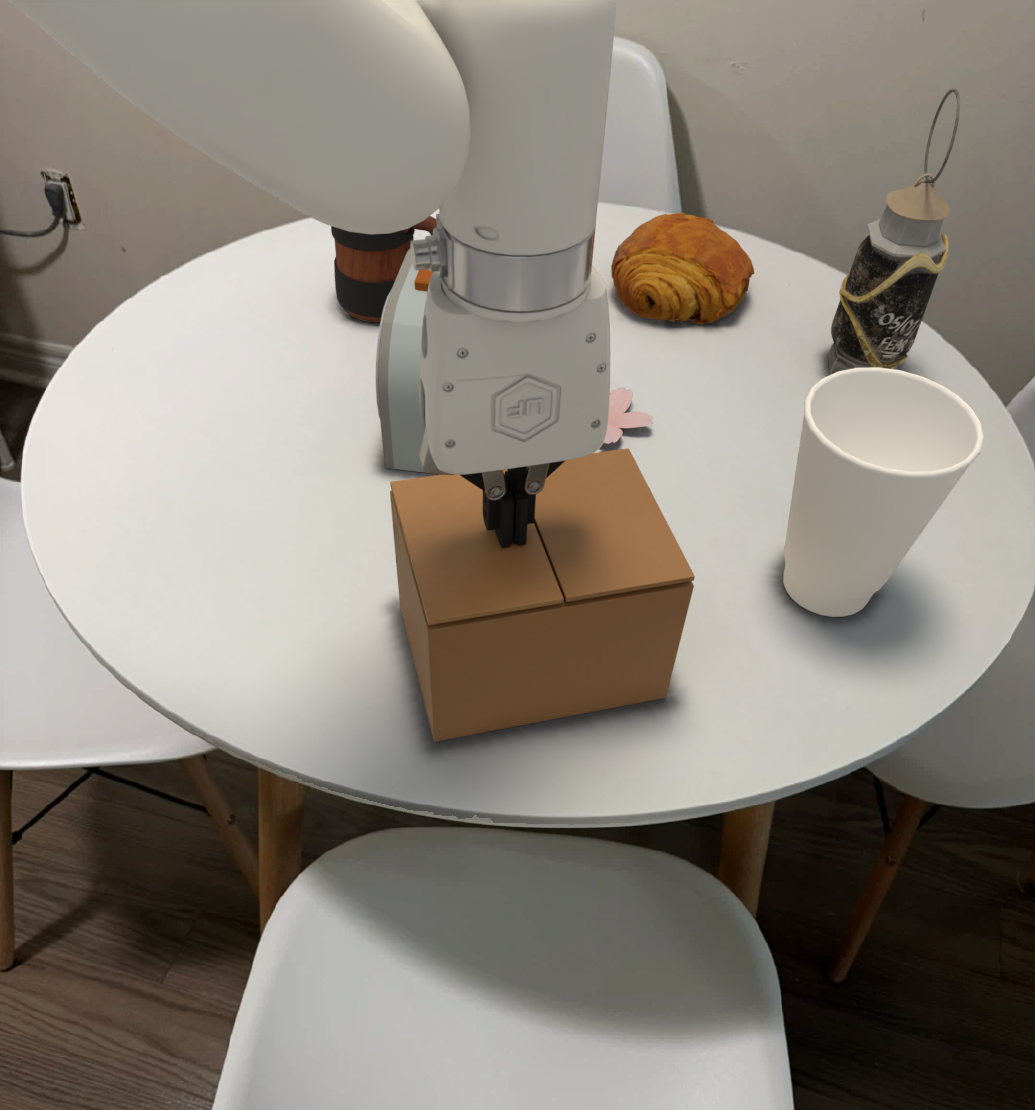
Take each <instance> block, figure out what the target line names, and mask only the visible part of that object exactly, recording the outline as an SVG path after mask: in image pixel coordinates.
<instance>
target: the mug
mask: <svg viewBox="0 0 1035 1110" xmlns="http://www.w3.org/2000/svg"><path fill="white" fill-rule="evenodd" d="M433 228H437V224H436V217H433V216H432V215H430V216H429V217H428V218H426V219H425V220H424V221H422V222H420V223H418V224H416V225H414V226H412V227H410V228H408V229H404V230H401V231H397V232H393V233H387V234H364V233H356V232H349V231H346V230H343V229H339V228H336V227H333V226H330V231H331V236H332V238H333V239H334V247H335V248H334V249H335V257H334V259H333V260H334V261H333V269H334V284H335V286H334V287H335V294H336V300H337V302H338V303H339V305H340V307H342V308H343V310H344V311H345V312H346V313H347V314H348V315H349V316H351V317H352V318H355V319H357V320H359V321H363V322H368V323H380V322H381V317H382V312H383V308H384V305H385V302H386V299H387V297H388V295H389V293H390V291H391V290H392V287H393V285H394V282H395V280H396V278H397V275H398V273H399V270H400V268H401V266H402V263H403V261H404V258H405V256H406V254H407V252H408V250H409V249H411V247H410V244H411V241H412V240H415V237H414V235H415V233H416V231H417V230H419V231H424V232H428V234H430V235H429V236H432V235H433Z"/></svg>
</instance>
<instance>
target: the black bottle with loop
mask: <svg viewBox="0 0 1035 1110" xmlns="http://www.w3.org/2000/svg"><path fill="white" fill-rule="evenodd" d="M952 93H954V94H955V98H956V112H955V119H954V120H955V121H954V126H953V131H952V136H951V139H950V141H949V146H948V149H947V152H946V155H945V157H944V159H943V162H942V165H941V167H940V168H939V170H938V173H937V174H936V175H935V177H934V175H933V174H932V173H928V163H929V162H928V160H929V153H930V147H931V143H932V142H931V141H932V137H933V134H934V130H935V127H936V123H937V121H938V117H939V114H940V113H941V110H942V108H943V105H944V104H945V103H946V100H947V98H948V97H949V96H950V95H951V94H952ZM960 114H961V96H960V92H959V91H958V89H957V88H955V87H953V88H951V89H949V90H948V91H946V93H945V95H944V96H943V98H942V99H941V101H940V104H939V105H938V108H937V110H936V112H935V115H934V118H933V121H932V124H931V127H930V130H929V134H928V138H927V142H926V147H925V154H924V166H923V167H924V168H923V169H924V174H921V175H920V176H919V177H918V178H917V179H916V180H915V182H914V184H912V185H910V186H908V187H905V188H901V189H896V190H892V191H890V192H889V193H887V195H886V206H885V208H884V210H883V212H882V215H881V217H880V218H878V219H876V220H873V221H871V222H870V223H868V224H867V231H868V232H867V233H868V235H867V236H866V237H865V238H864V239H863V240H862V241H861V243H859V246H858V247H857V250H856V253H855V256H854V259H853V262H852V264H851V268H850V270H849V272H848V273H847V274H846V276H845V277H844V279H843V280H842V283H841V285H840V288H839V291H838V293H839V297H840V300H839V302H838V305H837V308H836V311H835V314H834V317H833V319H832V322H831V326H830V335H831V339H832V342H833V343H832V344H831V345H830V349H829V351H828V354H827V361H828V368H829V372H830V375H832V374H834V373H836V372H838V371H843V370H848V369H854V368H872V367H879V368H887V369H894V370H898V367H899V366H900V365H901V364H903V363H904V362H905V361H907V359H908V357H909V356H908V353H909V352H910V350H911V349H912V347H913V345H914V344H915V341H916V338H917V335H918V332H919V329H920V326H921V324H922V321H923V319H924V316H925V313H926V311H927V307H928V304H929V301H930V299H931V297H932V293H933V291H934V288H935V285H936V281H937V279H938V277H939V274H940V272H942V271H943V270H944V268H945V266H946V264H947V261H948V258H949V242H950V241H949V238H948V236H947V234H944V233H942V232H941V230H942V228H943V224H944V220H945V219H947V217H948V216H949V215H950V207H949V205H948V203H947V202H946V201H945V200H944V199H943V198H942V196H940V195H939V194H937V191H936V190H935V189H934V188H935V186H936V181H938V179H939V178H940V177H941V175H942V173H943V171H944V170H945V167H946V165H947V163H948V161H949V158H950V155H951V152H952V149H953V147H954V143H955V140H956V136H957V131H958V126H959V122H960V121H959V120H960ZM923 179H925V180H923Z"/></svg>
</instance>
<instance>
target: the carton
mask: <svg viewBox="0 0 1035 1110" xmlns="http://www.w3.org/2000/svg"><path fill="white" fill-rule="evenodd" d="M389 498H390V509H391V519H392V520H391V521H392V531H393V532H392V533H393V541H394V542H393V543H394V554H395V566H396V577H397V588H398V599H399V601H398V602H399V609H400V612H401V617H402V621H403V624H404V628H405V632H406V636H407V640H408V641H407V642H408V645H409V648H410V652H411V656H412V661H413V664H414V668H415V672H416V677H417V680H418V684H419V688H420V692H421V695H422V699H423V703H424V708H425V711H426V716H427V719H428V720H427V721H428V723H429V726H430V731H431V735H432V739H433V742H435V743H436V742H441V741H442V742H443V741H446V740H447V741H448V740H453V739H456V738H462V737H467V736H473V735H479V734H483V733H489V732H493V731H498V730H504V729H510V728H514V727H520V726H526V725H530V724H536V723H540V722H547V721H551V720H556V719H561V718H569V717H573V716H577V715H578V716H579V715H583V714H587V713H594V712H598V711H604V710H609V709H614V708H620V707H626V706H630V705H635V704H639V703H640V704H641V703H645V702H651V701H656V700H661V699H666V698H667V695H668V692H669V687H670V684H671V679H672V675H673V671H674V668H675V664H676V660H677V656H678V652H679V648H680V644H681V639H682V635H683V631H684V626H685V625H686V619H687V615H688V612H689V608H690V603H691V599H692V595H693V591H694V587H695V585H694V583H693V581H695V578H696V576H695V574H694V571H693V570H692V568H691V566H690V564H689V562H688V560H687V558H686V557H685V555H684V552H683V550H682V549H681V547H680V544H679V543H678V541H677V539H676V537H675V535H674V533H673V531H672V529H671V528H670V526H669V524H668V521H667V519H666V518H665V515H664V514H663V512H662V510H661V507H660V506H659V504H658V502H657V500H656V498H655V496H654V494H653V493H652V490H651V489H650V487H649V485H648V483H647V481H646V479H645V477H644V475H643V473H642V471H641V469H640V467H639V466H638V463H637V462H636V460H635V458H634V456H633V454H632V452H631V449H630V448H621V449H614V450H606V451H605V450H604V451H600V452H593V453H592V454H589V455H587V456H584V457H581V458H577V459H572V460H566V461H565V462H564V463H563V464H562V465H560V466H559V467H558V468H557V469H556V470H555V471H554V472H553V473H552V474H551V475H549V476H548V477H547V478H546V480H545V484H544V488H543V489H542V491H541V492H539V493H538V494H536V503H535V519H534V525H535V527H536V530H537V532H538V535H539V537H540V540H541V542H542V545H543V547H544V550H545V553H546V555H547V558H548V560H549V563H550V565H551V568H552V570H553V573H554V575H555V578H556V580H557V583H558V586H559V588H560V591H561V593H562V596H563V598H564V600H563V603H560V604H554V605H548V606H542V607H536V608H530V609H524V610H518V611H512V612H506V613H500V614H494V615H488V616H481V617H475V618H469V619H463V620H457V621H451V622H445V623H439V624H433V625H428V621H427V618H426V614H425V610H424V607H423V603H422V599H421V596H420V592H419V588H418V585H417V581H416V577H415V574H414V570H413V566H412V563H411V559H410V555H409V552H408V548H407V544H406V541H405V537H404V533H403V530H402V526H401V522H400V519H399V515H398V511H397V508H396V504H395V500H394V497H393V493H392V489H390V491H389Z"/></svg>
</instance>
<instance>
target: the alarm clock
mask: <svg viewBox="0 0 1035 1110" xmlns="http://www.w3.org/2000/svg"><path fill="white" fill-rule="evenodd" d="M433 272H434V271H433ZM433 272H430V271H429V269H424V270H414V268H413V264H412V258H411V249H409V250H408V252H407V254H406V256H405V258H404V261H403V263H402V266H401V268H400V270H399V273H398V275H397V278H396V280H395V282H394V285H393V287H392V290H391V291H390V293H389V295H388V297H387V299H386V302H385V305H384V308H383V312H382V317H381V322H379V328H378V336H377V342H376V343H377V344H376V357H375V396H376V397H375V398H376V406H377V414H378V418H379V421H380V431H381V443H382V453H383V454H382V455H383V464H384V467H385V469H393V470H401V471H408V472H417V473H418V472H419V473H426V472H424V470H423V467H422V464H421V460H420V457H419V453H420V448H421V444H422V440H423V436H424V431H425V427H424V425H423V423H422V419H421V413H420V398H419V377H420V353H421V338H422V325H423V316H424V309H425V302H426V296H427V291H428V286H429V281H430V278H431V275H432V273H433ZM450 443H451V442H450ZM426 474H427V473H426Z"/></svg>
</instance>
